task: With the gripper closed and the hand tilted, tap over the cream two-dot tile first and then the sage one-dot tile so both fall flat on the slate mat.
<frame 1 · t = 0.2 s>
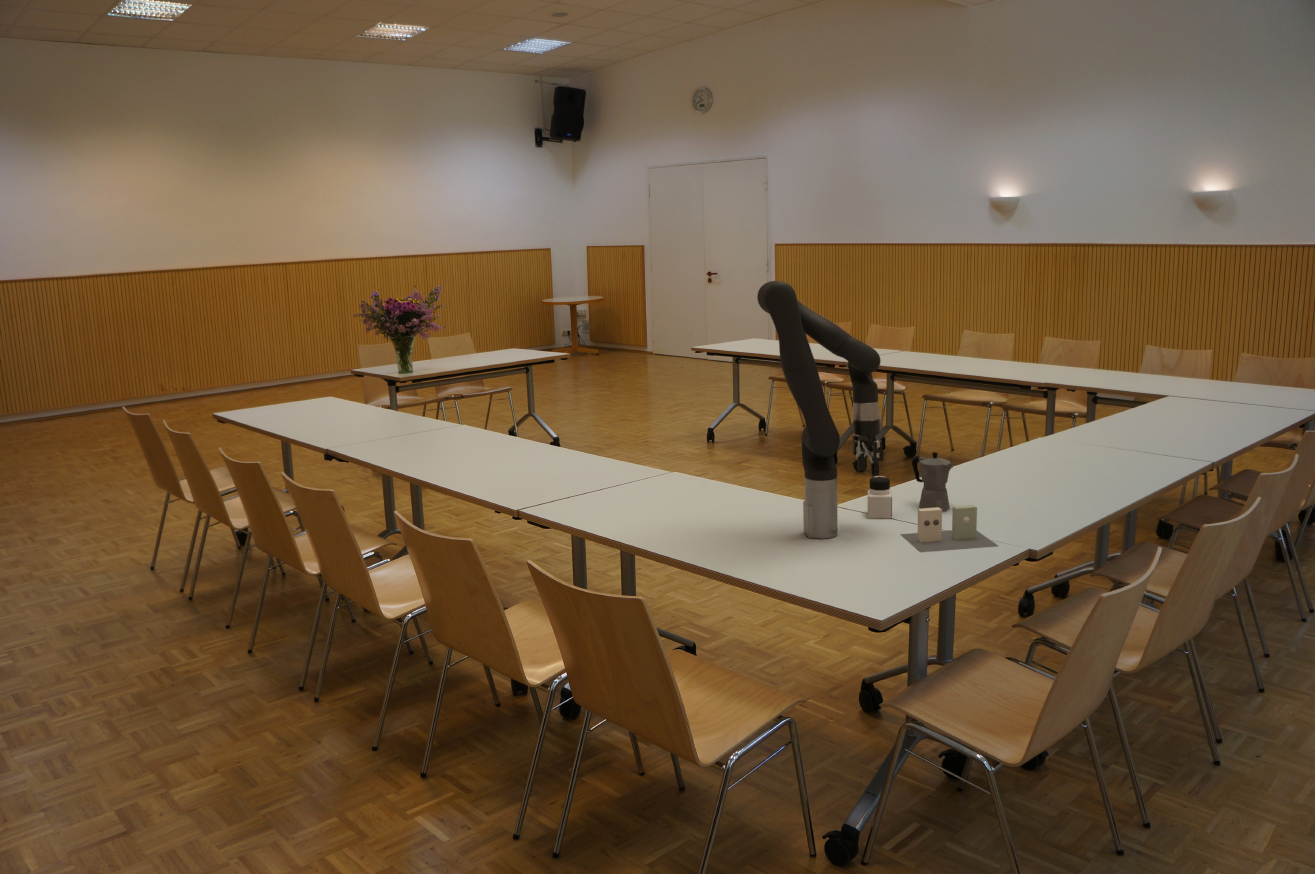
hand: (868, 473, 272), 18 cm above the table, tool pointing down, fingers open, 8 cm apart
coffeepot: (931, 508, 297), on the table
medicine bottle: (879, 515, 291), on the table
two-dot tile: (929, 540, 264), point 1 cm above the table, touching slate mat
slate mat: (948, 542, 264), on the table
one-dot tile: (964, 537, 265), point 1 cm above the table, touching slate mat
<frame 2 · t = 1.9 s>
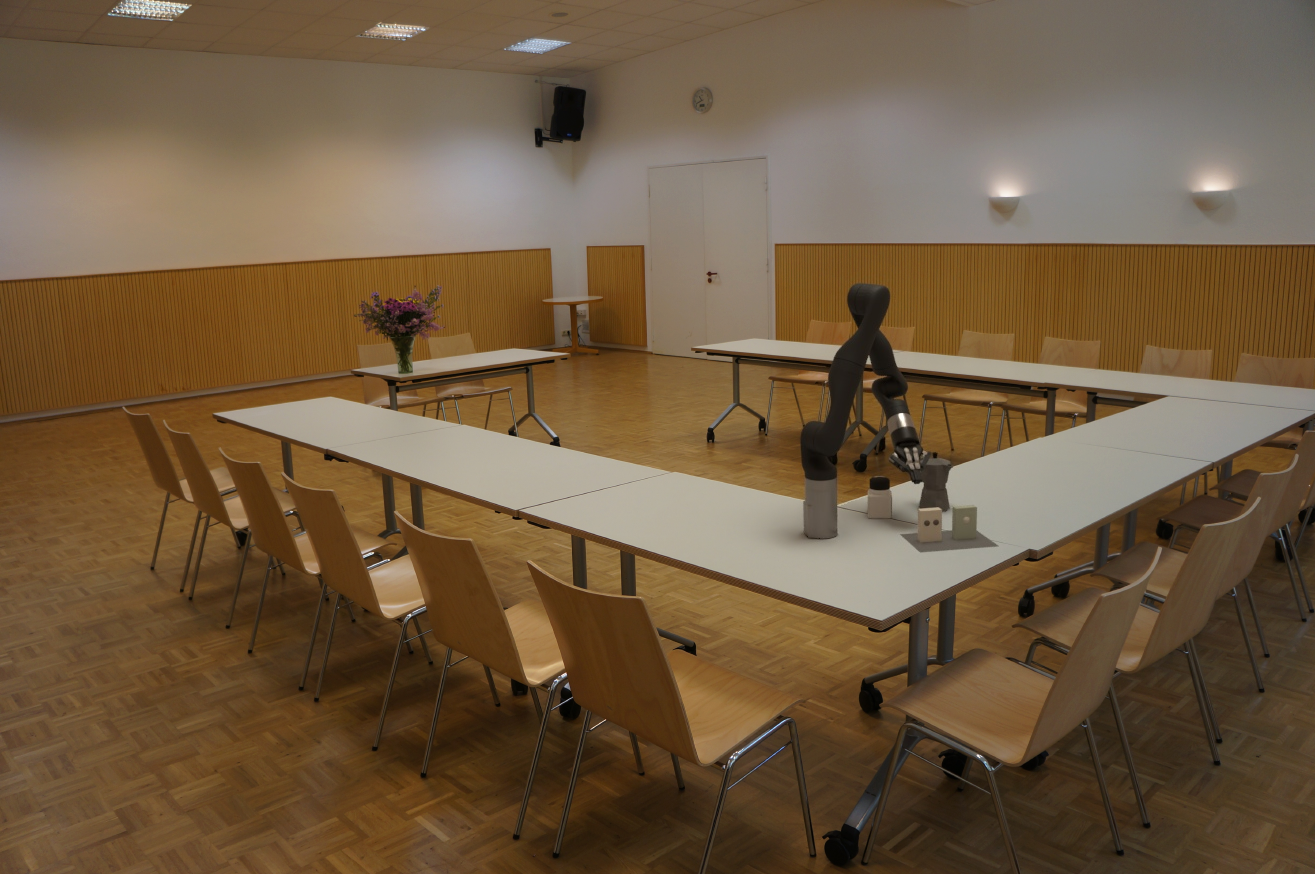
hand: (917, 482, 271), 15 cm above the table, tool tilted 45°, fingers closed
nothing on the table moved.
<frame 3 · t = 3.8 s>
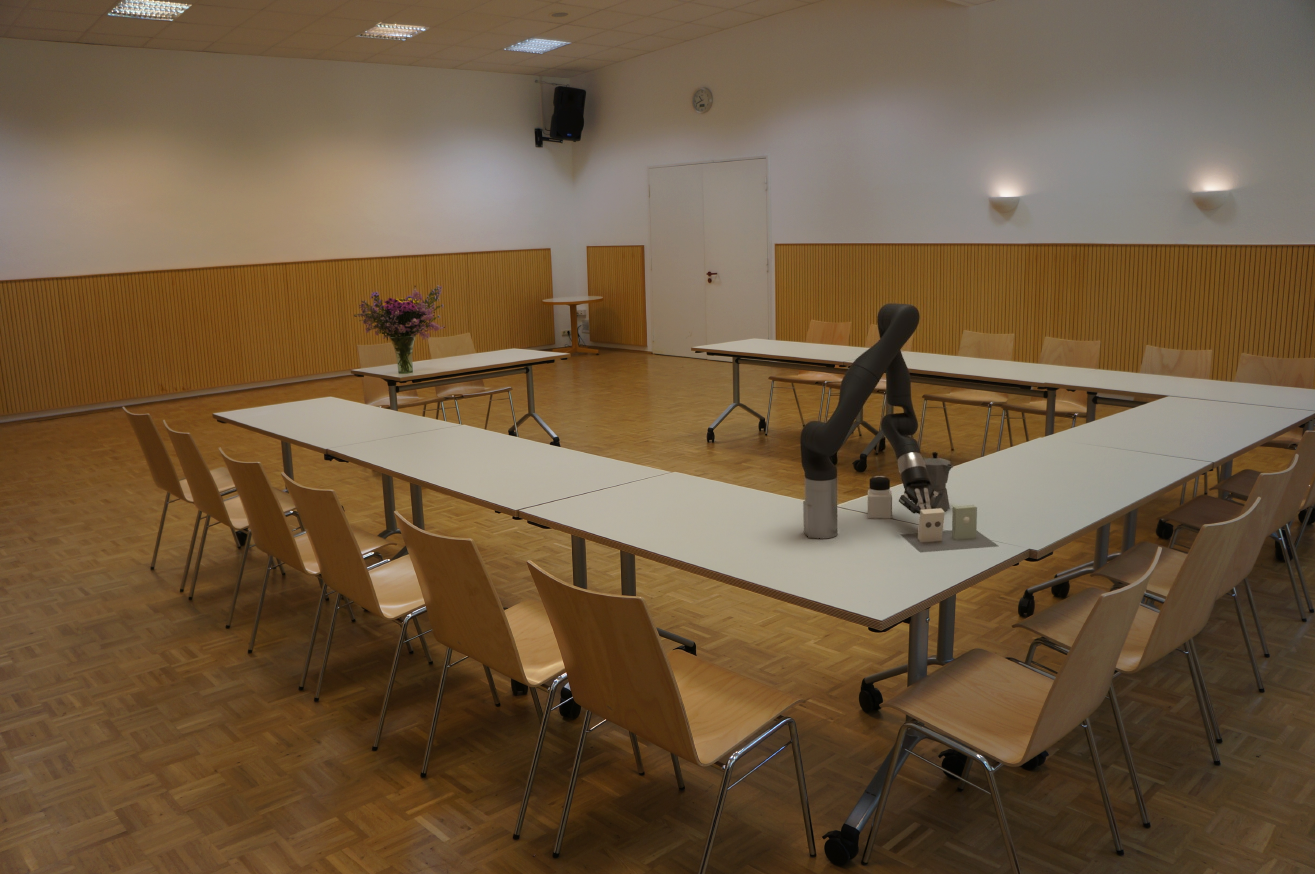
hand: (928, 524, 264), 5 cm above the table, tool tilted 45°, fingers closed
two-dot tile: (929, 539, 264), point 1 cm above the table, tilted 12°, touching slate mat
everything else where it was.
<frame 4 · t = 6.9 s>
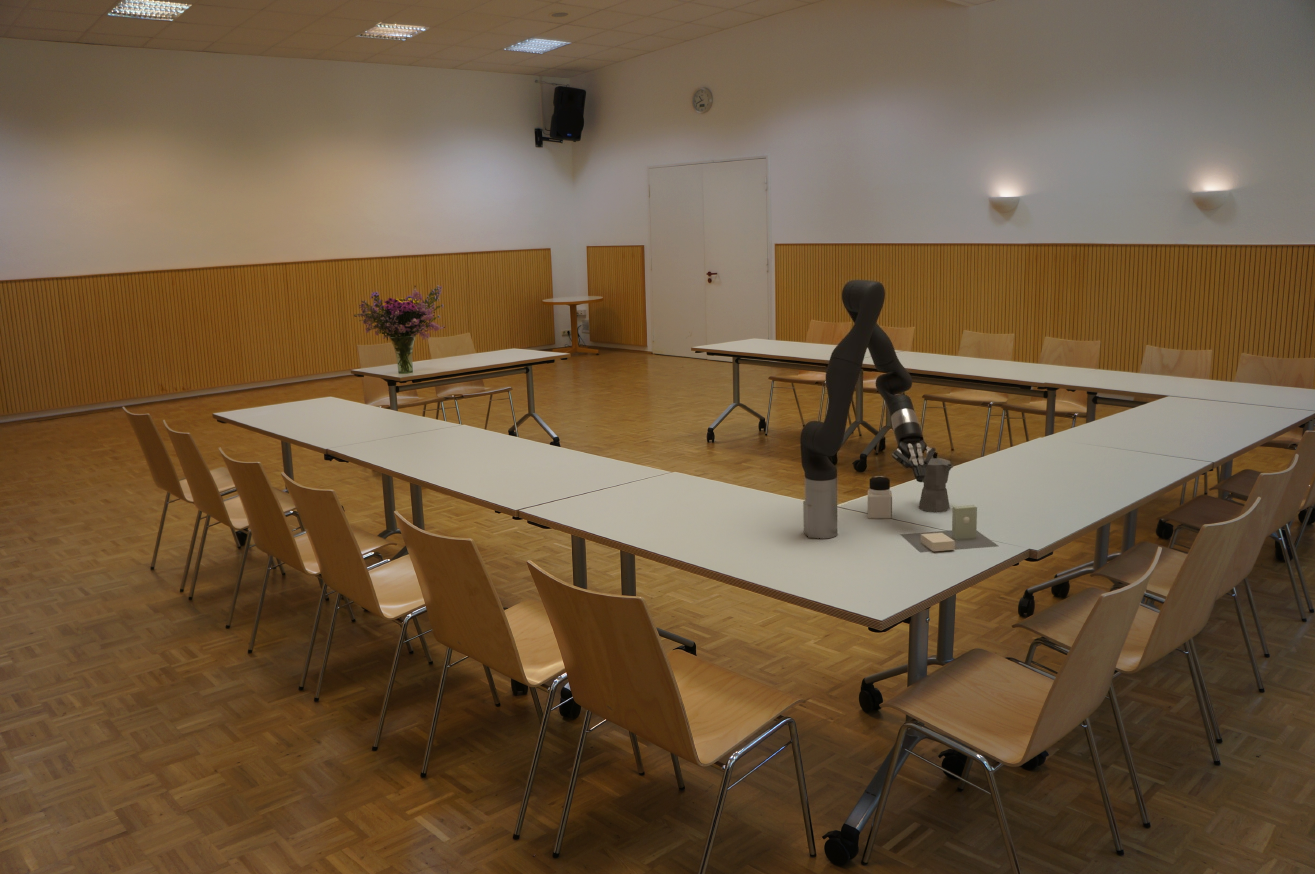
hand: (921, 478, 268), 17 cm above the table, tool tilted 45°, fingers closed
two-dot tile: (931, 537, 263), point 2 cm above the table, tilted 87°, touching slate mat
everything else where it was.
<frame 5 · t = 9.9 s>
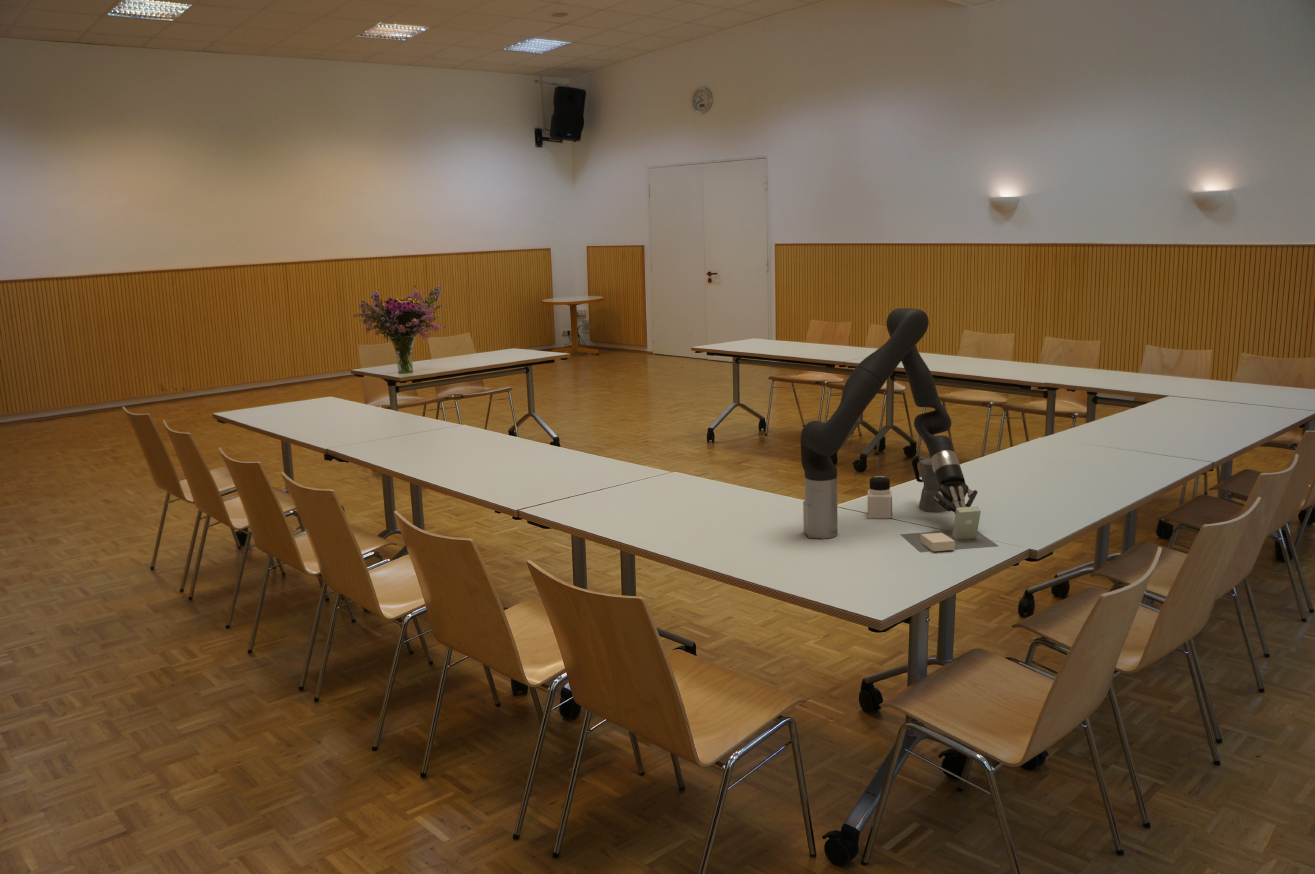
hand: (963, 522, 265), 5 cm above the table, tool tilted 45°, fingers closed
one-dot tile: (964, 536, 265), point 1 cm above the table, tilted 16°, touching slate mat
everything else where it was.
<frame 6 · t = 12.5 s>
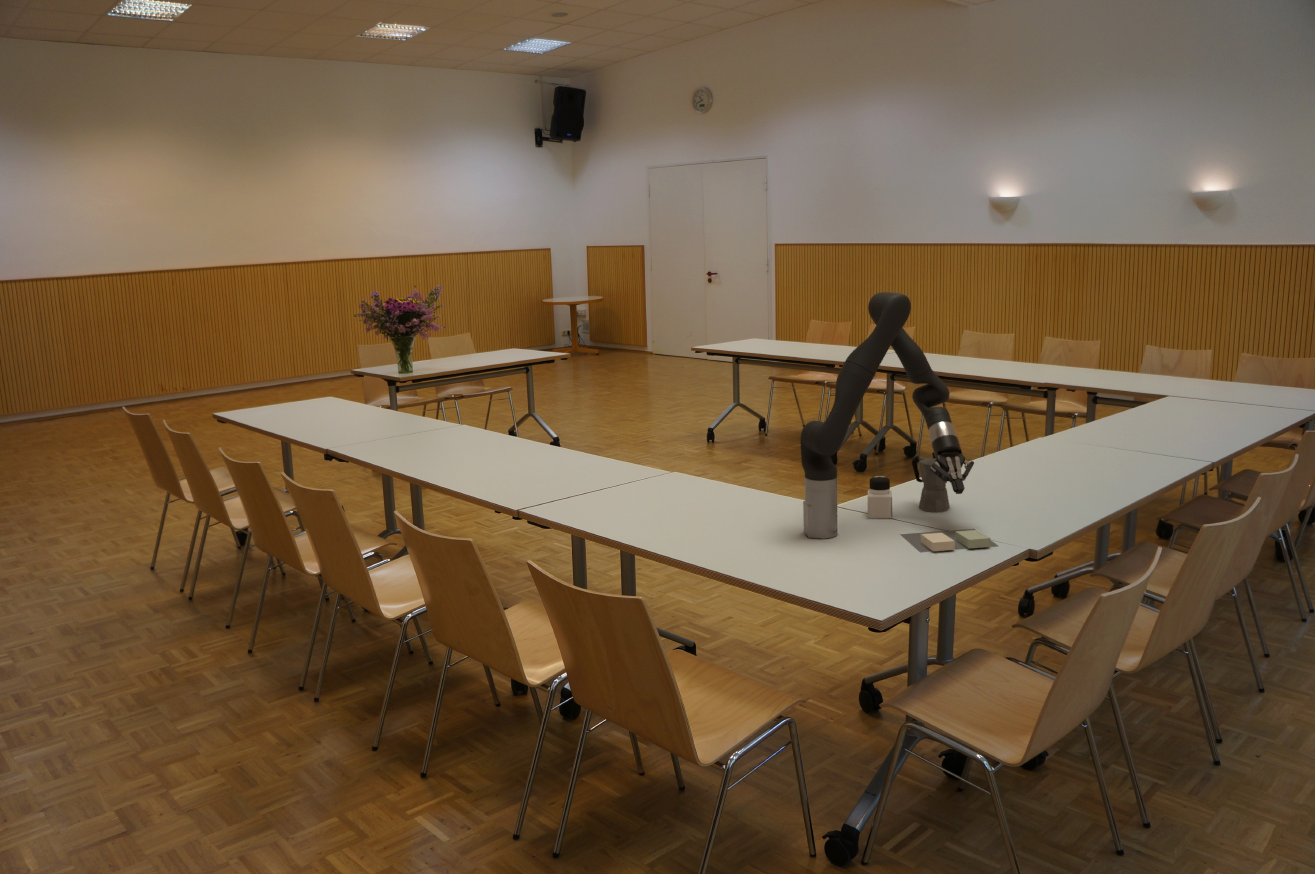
hand: (960, 492, 266), 13 cm above the table, tool tilted 45°, fingers closed
one-dot tile: (966, 534, 264), point 2 cm above the table, tilted 87°, touching slate mat
everything else where it was.
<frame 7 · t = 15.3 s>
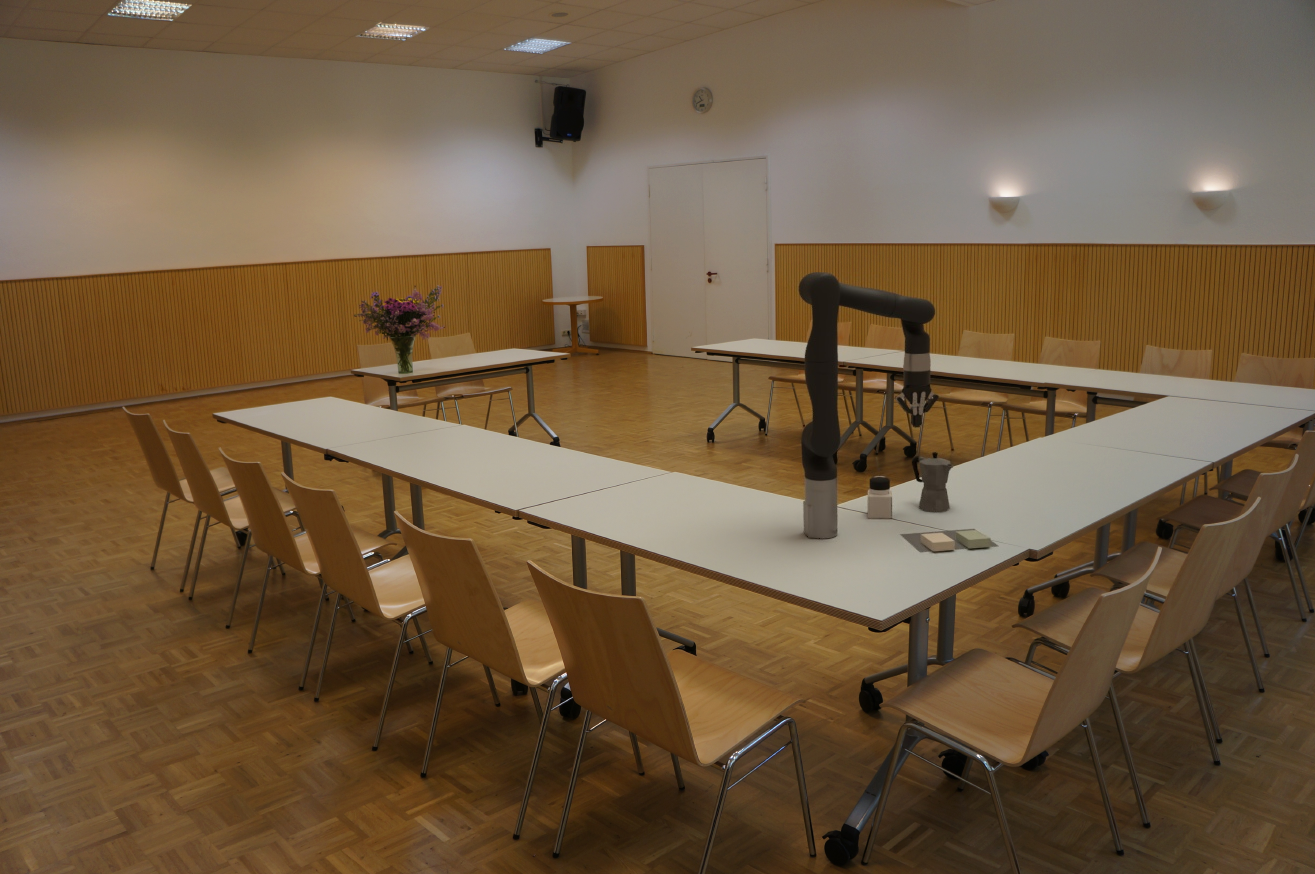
hand: (916, 426, 277), 29 cm above the table, tool pointing down, fingers closed
nothing on the table moved.
at the end: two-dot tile tilted 87°; one-dot tile tilted 87°; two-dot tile 5.0 cm from the slate mat (horizontally) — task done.
